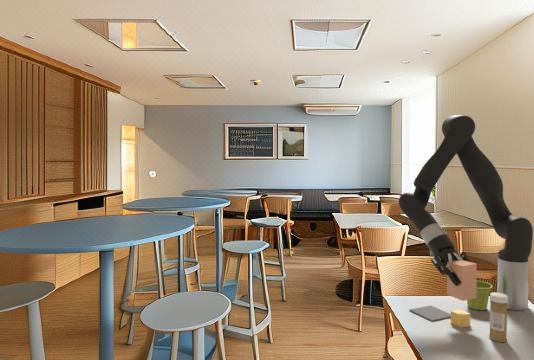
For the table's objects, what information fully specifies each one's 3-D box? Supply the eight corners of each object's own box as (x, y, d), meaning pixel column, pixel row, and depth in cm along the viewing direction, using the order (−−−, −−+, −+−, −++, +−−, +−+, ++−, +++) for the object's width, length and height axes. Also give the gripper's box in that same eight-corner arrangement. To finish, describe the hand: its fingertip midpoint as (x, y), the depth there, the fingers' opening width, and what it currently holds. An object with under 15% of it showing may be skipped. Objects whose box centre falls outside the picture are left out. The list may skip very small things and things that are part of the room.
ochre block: (459, 321, 126) (459, 309, 126) (470, 325, 122) (470, 313, 122) (450, 323, 124) (450, 311, 124) (461, 327, 120) (461, 315, 120)
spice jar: (509, 340, 112) (511, 295, 111) (502, 344, 109) (503, 298, 109) (493, 334, 116) (494, 290, 115) (485, 338, 113) (486, 293, 113)
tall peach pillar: (460, 292, 127) (460, 259, 126) (476, 297, 121) (476, 263, 121) (447, 294, 124) (447, 261, 124) (462, 300, 119) (463, 266, 118)
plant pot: (482, 314, 131) (482, 289, 131) (456, 305, 139) (457, 282, 139) (497, 309, 136) (498, 285, 135) (471, 301, 144) (472, 278, 144)
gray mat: (430, 306, 138) (430, 305, 138) (454, 316, 129) (454, 315, 129) (409, 310, 134) (409, 309, 134) (432, 321, 125) (432, 320, 125)
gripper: (426, 235, 126) (457, 280, 116) (458, 231, 132) (489, 274, 121) (415, 247, 131) (442, 292, 121) (445, 243, 137) (474, 285, 126)
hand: (466, 283), depth 121 cm, fingers closed on tall peach pillar, 6 cm apart
